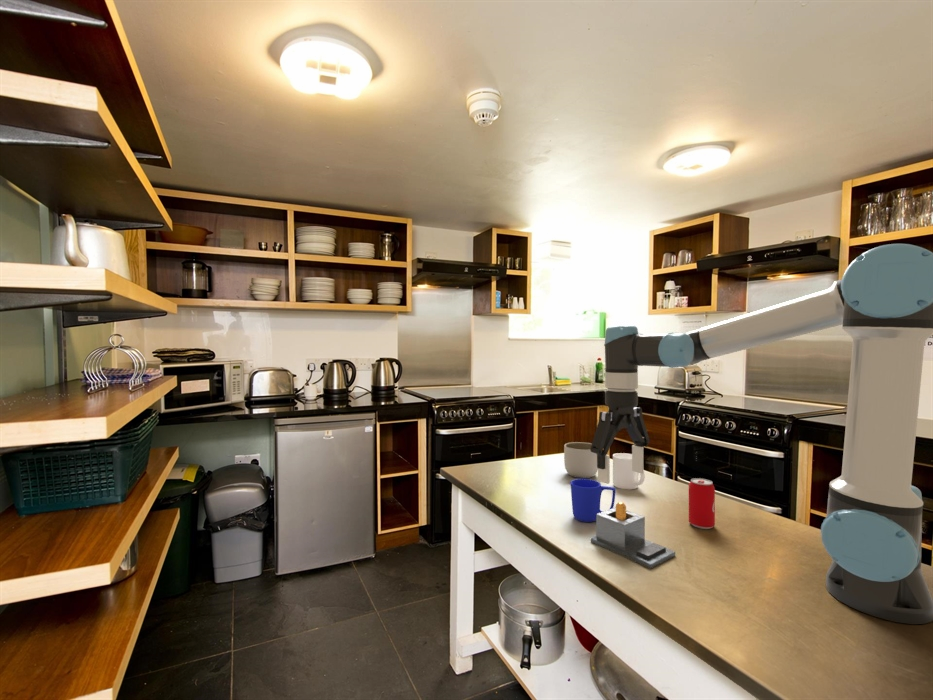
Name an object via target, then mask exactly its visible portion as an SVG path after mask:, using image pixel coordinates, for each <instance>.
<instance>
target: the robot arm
mask: <svg viewBox="0 0 933 700" xmlns="http://www.w3.org/2000/svg"><path fill="white" fill-rule="evenodd" d="M838 326H842V327H841V328H842V330H843V331H844V332H846V333H847V334H848V335H849V336H850V337H851V339H852V348H851V357H850V370H849V372H850V374H849V382H848V383H849V384H848V393H847V394H848V395H847V407H846V417H845V431H844V442H843V452H842V453H843V455H842V464H841V465H842V466H841V475H840V476H838V477H836V478H835V479H832V480H831V481H830V482H829V484H828V485H829V486H828V488H829V489H828V496H827V497H828V498H827V507H826V508H827V509H826V515H825V516H826V517H825V518H824V519H823V520H822V521H823V522H822V523H821V526H820V535H821V536H820V537H821V542H822V544H823V547H824V549H825V550H826V552H827V554H828V555H829V556H830V557H831V559H832V561H831V563H830V566H829V568H828V570H827V572H826V576H825V579H826V580H825V587H826V590H827V591H828V592H829V594H830V595H831V596H833V597H834V598H835V599H837V600H838V601H839V602H841V603H843V604H845V605H847V606H848V607H851V608H852V609H855V610H857V611H860V612H862V613H864V614H867V615H870V616H872V617H875V618H879V619H882V620H885V621H890V622H894V623H900V624H906V625H907V624H910V625H924V624H928V623H931V622H933V597H932V594H931V592H930V590H929V587H928V584H927V582H926V579H925V576H924V575H923V571H922V535H923V534H922V533H923V531H922V529H923V528H922V527H923V525H922V524H923V511H924V510H923V507H924V501H923V498H922V497H923V496H922V491H921V490H920V489H919V488H918V487H916V485H915V486H914V485H912V479H913V471H914V470H913V469H914V461H915V460H914V457H915V446H916V436H917V425H918V417H919V416H918V414H919V405H920V397H921V396H920V394H921V386H922V385H921V382H922V375H923V374H922V373H923V363H924V352H925V351H924V350H925V342H927V340H928V339H929V338H931V337H932V336H933V252H932V251H931V250H929V249H926V248H924V247H922V246H918V245H914V244H910V243H891V244H890V243H889V244H883V245H879V246H876V247H874V248H871V249H868V250H867V251H864V252H862V253H861V254H860V255H859V256H857V257H856V258H855V259H854V260H852V261H851V262H850V264H848V266H847V268H846V269H845V270H844V274H842V278H840V279H838V280H835V281H833V283H832V285H830V287H829V288H826V289H824V290H820V291H817V292H813V293H810V294H807V295H804V296H800V297H798V298H794V299H791V300H788V301H785V302H781V303H779V304H775V305H772V306H768V307H765V308H762V309H759V310H755V311H752V312H750V313H746V314H742V315H739V316H736V317H734V318H729V319H728V320H723V321H720V322H716V323H713V324H711V325H708V326H707V325H706V326H703V327H701V328H698V329H697V328H696V329H695V330H694V329H693V330H691V331H688V332H684V333H683V332H681V333H679V332H666V333H639V329H638V327H637V326H635V325H614V326H613V325H612V326H608V327H607V328H606V330H605V334H604V337H605V338H604V345H603V346H604V354H605V355H604V363H605V365H604V366H605V369H604V370H605V371H604V373H605V374H604V375H605V376H604V377H605V378H604V382H605V383H604V385H605V386H604V387H605V388H606V390H605V391H604V404H605V405H606V406H607V407H608V411H602V410H601V411H599V414H598V422H597V426H596V429H595V432H594V436H593V440H592V443H591V444H592V445H591V449H590V451H591V452H593V453H595V454H597V468H598V470H597V482H599V483H604V484H607V485H608V484H610V481H611V480H610V477H611V475H610V471H611V470H610V466H611V465H610V461H611V459H610V455H609V454H608V453H609V450H610V448H611V446H612V444H613V442H614V440H615V438H616V436H617V434H618V433H619V432H620V431H621V430H623V429H625V431H626V432H627V434H628V435H629V437H630V438H631V440H632V442H633V445H631V454H632V471H634V472H638V474H640V473H643V470H644V456H645V454H644V451H645V450H644V449H645V447H646V448H647V447H648V446H649V443H650V436H649V434H648V430H647V427H646V424H645V421H644V420H645V419H644V416H643V409H642V407H640V406H639V407H637V406H638V403H639V394H638V391H637V389H638V388H639V378H638V377H639V375H638V374H639V369H638V368H639V367H643V366H644V367H663V368H669V369H670V368H671V369H674V368H685V367H688V366H691V365H695V364H698V363H701V362H702V361H707V360H710V359H714V358H717V357H720V356H724V355H729V354H733V353H737V352H741V351H744V350H748V349H752V348H757V347H760V346H763V345H768V344H772V343H775V342H779V341H784V340H787V339H791V338H795V337H800V336H803V335H808V334H812V333H815V332H819V331H823V330H826V329H830V328H835V327H838ZM596 447H597V448H596Z"/></svg>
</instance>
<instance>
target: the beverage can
mask: <svg viewBox="0 0 933 700" xmlns="http://www.w3.org/2000/svg"><path fill="white" fill-rule="evenodd" d="M688 522H689V524H690V525H692V526H693V527H695V528H698V529H702V530H710V529H712V528H714V527H715V525H716V488H715V486H714V484H713V481H712V480H710V479H706V478H703V477H702V478H701V477H699V478H698V477H697V478H696V477H695V478H694V477H693V478H691V479H690V482H689V484H688Z"/></svg>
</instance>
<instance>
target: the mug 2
mask: <svg viewBox="0 0 933 700" xmlns="http://www.w3.org/2000/svg"><path fill="white" fill-rule="evenodd" d="M639 474H640V475H639ZM639 476H640V477H639ZM645 479H646V474H645V470H644V469H643V473H638V472H634V471H632V453H625V452H623V453H622V452H620V453H618V452H617V453H613V454H612V485H613V486H614V488H618V489H620V490H629V491H631V490H635V489H637V488H638V487H639V486H642V485H643V484H644V482H645Z"/></svg>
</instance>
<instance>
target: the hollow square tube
mask: <svg viewBox="0 0 933 700" xmlns="http://www.w3.org/2000/svg"><path fill="white" fill-rule="evenodd" d="M595 521H596V524H595V525H596V528H595V529H596V530H595V532H596V533H595V535H596V538H597V539H599V540H601V541H604V542H606V543H608V544H611V545H613V546H615V547H618V548H620V549H622V550H624V551H625V550H627V549H629V548H632V547H634V546H636V545H638V544H640V543H642V542H645V540H646V535H645V531H646V530H645V529H646V528H645V527H646V526H645V525H646V523H645V522H646V517H645V516H643V515H640V514H638V513H635V512H632V511H629V510H626V520H624V521H622V520H619V519H616V506H614V507H613V508H612V509H610V508H609V509H607V510H604V511H603V512H601V513H598V514H596V520H595Z"/></svg>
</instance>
